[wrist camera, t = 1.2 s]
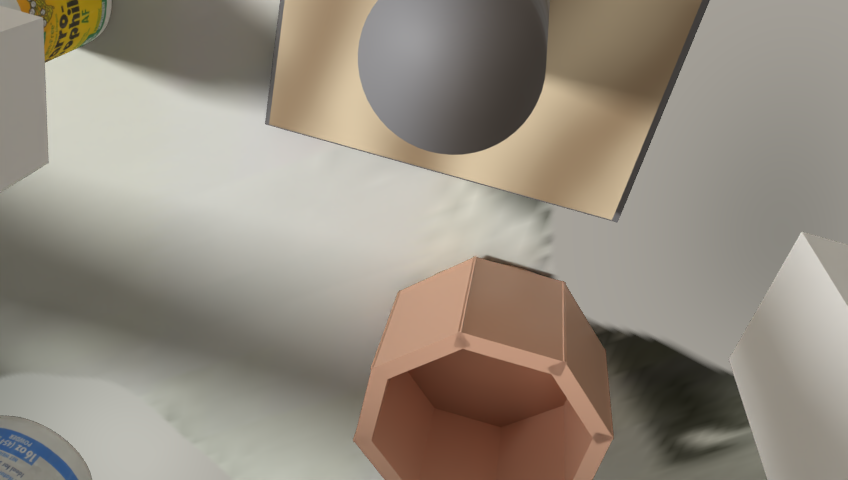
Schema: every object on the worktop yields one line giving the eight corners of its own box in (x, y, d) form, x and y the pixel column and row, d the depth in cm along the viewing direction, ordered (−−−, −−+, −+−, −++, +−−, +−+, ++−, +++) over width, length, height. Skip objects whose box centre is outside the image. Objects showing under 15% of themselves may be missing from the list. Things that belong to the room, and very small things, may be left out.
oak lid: (276, 117, 34) (151, 238, 23) (330, -299, 26) (177, -394, 15) (610, 210, 33) (634, 376, 23) (771, -185, 25) (918, -204, 15)
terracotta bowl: (372, 394, 42) (341, 486, 36) (413, 232, 37) (384, 309, 31) (558, 448, 42) (558, 550, 36) (628, 292, 36) (641, 383, 30)
